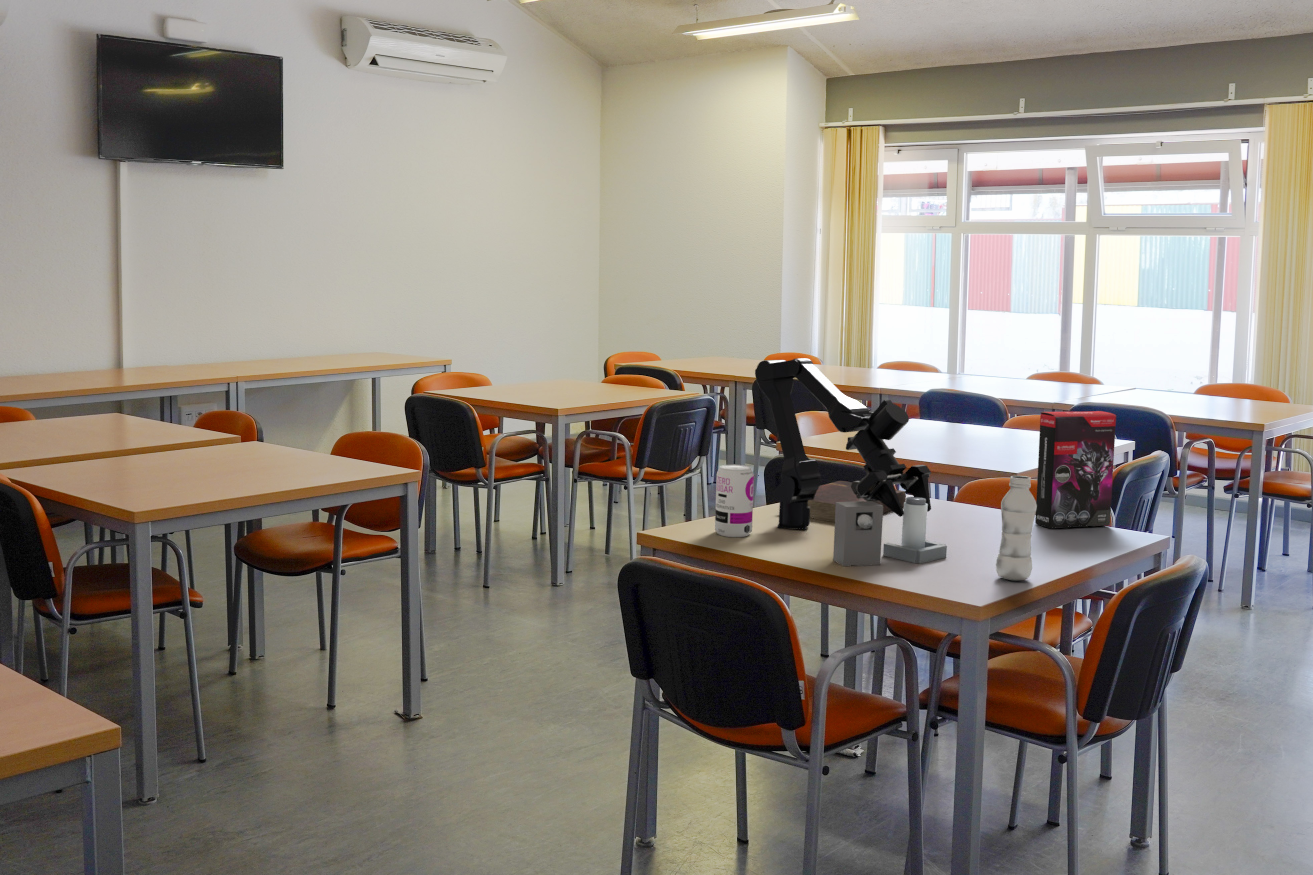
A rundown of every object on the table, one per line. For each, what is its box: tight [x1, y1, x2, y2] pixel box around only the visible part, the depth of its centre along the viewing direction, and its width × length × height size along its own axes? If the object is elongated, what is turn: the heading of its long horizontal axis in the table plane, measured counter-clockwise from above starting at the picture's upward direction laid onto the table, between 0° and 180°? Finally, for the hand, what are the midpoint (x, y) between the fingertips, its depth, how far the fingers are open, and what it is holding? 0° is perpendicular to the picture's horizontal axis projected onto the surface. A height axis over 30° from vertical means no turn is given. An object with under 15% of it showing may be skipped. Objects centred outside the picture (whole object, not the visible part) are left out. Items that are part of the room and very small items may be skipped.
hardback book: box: [808, 480, 907, 523], centre depth 283 cm, size 29×19×5 cm, turn 142°
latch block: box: [832, 501, 884, 567], centre depth 229 cm, size 5×8×12 cm, turn 105°
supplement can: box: [714, 464, 755, 538], centre depth 252 cm, size 8×8×15 cm
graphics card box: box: [1034, 410, 1117, 529], centre depth 270 cm, size 17×7×27 cm, turn 107°
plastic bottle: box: [995, 475, 1037, 582], centre depth 218 cm, size 6×7×20 cm
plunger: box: [856, 512, 873, 529], centre depth 229 cm, size 9×4×4 cm, turn 15°
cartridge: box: [900, 496, 928, 549], centre depth 236 cm, size 5×5×12 cm
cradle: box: [882, 539, 948, 564], centre depth 236 cm, size 9×10×2 cm
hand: (915, 513), depth 235 cm, fingers open, 9 cm apart
